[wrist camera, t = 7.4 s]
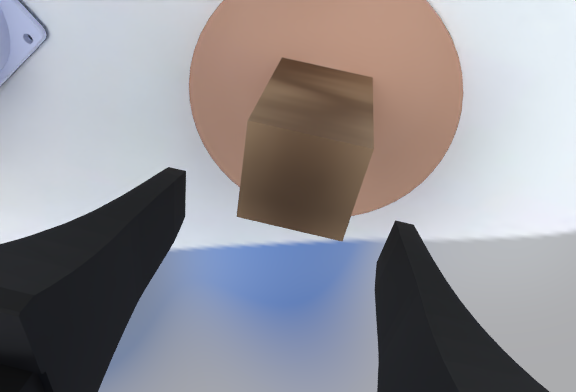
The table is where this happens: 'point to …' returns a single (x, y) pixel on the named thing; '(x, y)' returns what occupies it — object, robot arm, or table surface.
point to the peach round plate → (342, 56)
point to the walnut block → (307, 149)
